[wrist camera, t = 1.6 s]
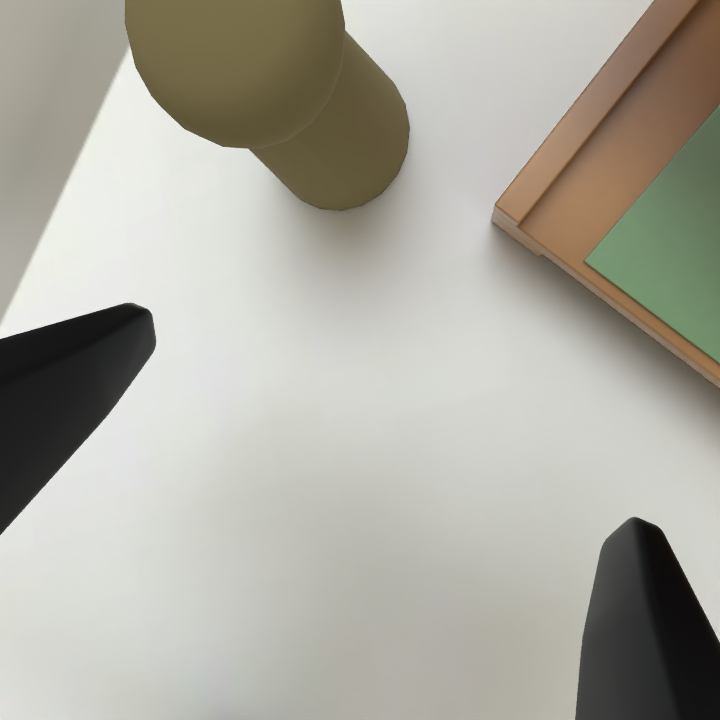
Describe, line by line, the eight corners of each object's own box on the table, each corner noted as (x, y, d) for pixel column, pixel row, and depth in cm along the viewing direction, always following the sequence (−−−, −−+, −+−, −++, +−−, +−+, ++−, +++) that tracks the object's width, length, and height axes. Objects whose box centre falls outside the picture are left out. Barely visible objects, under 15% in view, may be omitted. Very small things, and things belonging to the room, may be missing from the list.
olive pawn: (265, 68, 21) (60, -136, 11) (407, 47, 20) (331, -210, 10) (275, 216, 22) (94, 159, 12) (411, 205, 21) (347, 130, 10)
